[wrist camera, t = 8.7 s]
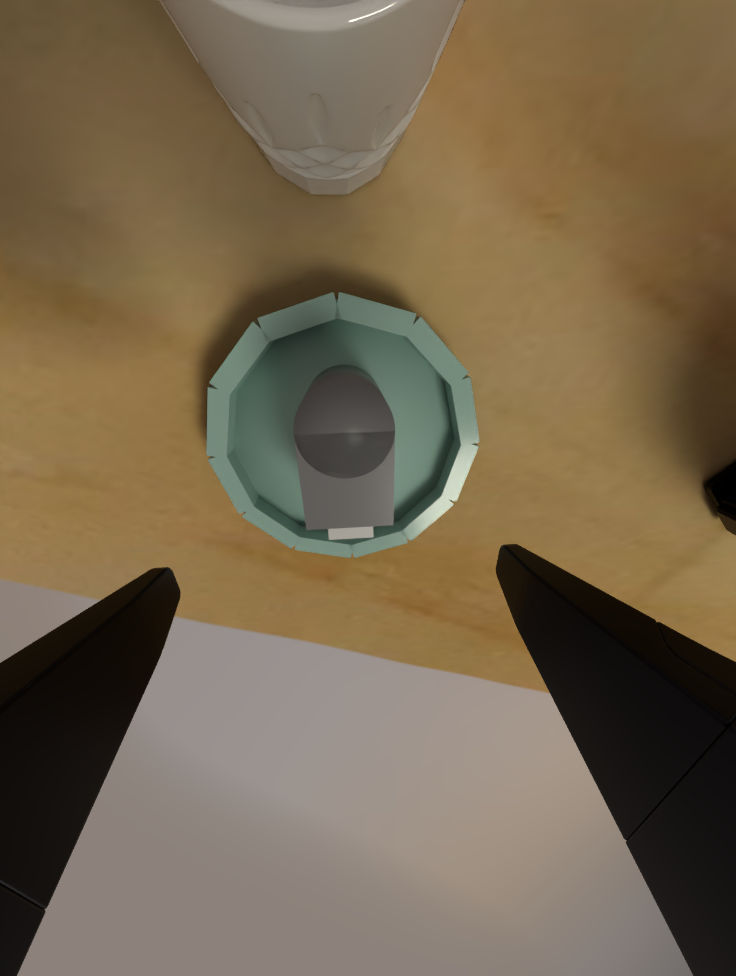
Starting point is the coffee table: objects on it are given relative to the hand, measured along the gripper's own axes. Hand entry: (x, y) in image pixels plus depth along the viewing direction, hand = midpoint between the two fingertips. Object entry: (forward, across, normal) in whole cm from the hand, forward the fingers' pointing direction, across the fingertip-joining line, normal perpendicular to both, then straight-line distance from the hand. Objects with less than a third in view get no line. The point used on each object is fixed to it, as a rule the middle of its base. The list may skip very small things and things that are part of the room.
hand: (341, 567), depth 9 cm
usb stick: (+10, 0, 0) cm, 10 cm away
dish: (+11, 0, 0) cm, 11 cm away
